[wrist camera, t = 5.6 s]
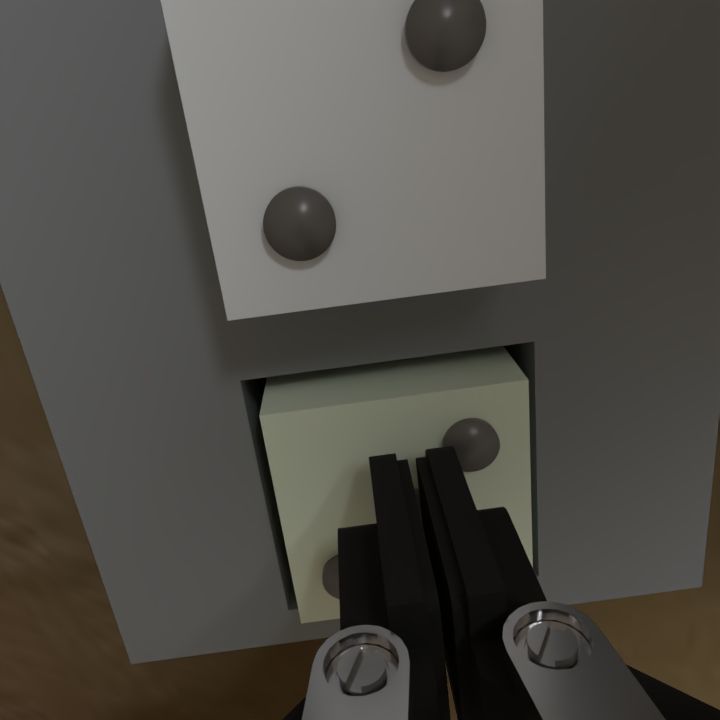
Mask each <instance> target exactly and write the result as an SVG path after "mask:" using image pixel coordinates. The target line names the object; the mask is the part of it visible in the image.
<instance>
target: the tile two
mask: <svg viewBox="0 0 720 720" xmlns="http://www.w3.org/2000/svg"><path fill="white" fill-rule="evenodd" d="M161 5H162V10H163V15H164V19H165V24H166V29H167V34H168V38H169V43H170V48H171V53H172V58H173V62H174V67H175V72H176V77H177V81H178V86H179V91H180V96H181V100H182V105H183V110H184V115H185V120H186V124H187V129H188V134H189V139H190V143H191V148H192V153H193V158H194V163H195V167H196V172H197V177H198V182H199V186H200V191H201V196H202V201H203V205H204V210H205V215H206V220H207V225H208V229H209V234H210V239H211V244H212V248H213V253H214V258H215V263H216V267H217V272H218V277H219V282H220V287H221V291H222V296H223V301H224V306H225V310H226V315H227V320H228V321H230V320H237V319H245V318H252V317H260V316H267V315H275V314H282V313H290V312H298V311H305V310H313V309H320V308H328V307H335V306H343V305H350V304H358V303H366V302H373V301H381V300H388V299H396V298H403V297H411V296H418V295H426V294H434V293H441V292H449V291H456V290H464V289H471V288H479V287H486V286H494V285H502V284H509V283H517V282H524V281H532V280H539V279H546V240H545V149H544V57H543V0H161Z"/></svg>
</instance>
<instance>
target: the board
mask: <svg viewBox="0 0 720 720" xmlns="http://www.w3.org/2000/svg"><path fill="white" fill-rule="evenodd" d="M543 57H544V149H545V240H546V279H539V280H532V281H524V282H517V283H509V284H502V285H494V286H486V287H479V288H471V289H464V290H456V291H449V292H441V293H434V294H426V295H418V296H411V297H403V298H396V299H388V300H381V301H373V302H366V303H358V304H350V305H343V306H335V307H328V308H320V309H313V310H305V311H298V312H290V313H282V314H275V315H267V316H260V317H252V318H245V319H237V320H230V321H228V320H227V315H226V310H225V306H224V301H223V296H222V291H221V287H220V282H219V277H218V272H217V267H216V263H215V258H214V253H213V248H212V244H211V239H210V234H209V229H208V225H207V220H206V215H205V210H204V205H203V201H202V196H201V191H200V186H199V182H198V177H197V172H196V167H195V163H194V158H193V153H192V148H191V143H190V139H189V134H188V129H187V124H186V120H185V115H184V110H183V105H182V100H181V96H180V91H179V86H178V81H177V77H176V72H175V67H174V62H173V58H172V53H171V48H170V43H169V38H168V34H167V29H166V24H165V19H164V15H163V10H162V5H161V0H0V284H1V287H2V290H3V292H4V295H5V298H6V301H7V304H8V307H9V310H10V313H11V316H12V319H13V322H14V324H15V327H16V330H17V333H18V336H19V339H20V342H21V345H22V348H23V351H24V354H25V357H26V359H27V362H28V365H29V368H30V371H31V374H32V377H33V380H34V383H35V386H36V389H37V391H38V394H39V397H40V400H41V403H42V406H43V409H44V412H45V415H46V418H47V421H48V424H49V426H50V429H51V432H52V435H53V438H54V441H55V444H56V447H57V450H58V453H59V456H60V458H61V461H62V464H63V467H64V470H65V473H66V476H67V479H68V482H69V485H70V488H71V491H72V493H73V496H74V499H75V502H76V505H77V508H78V511H79V514H80V517H81V520H82V523H83V525H84V528H85V531H86V534H87V537H88V540H89V543H90V546H91V549H92V552H93V555H94V557H95V560H96V563H97V566H98V569H99V572H100V575H101V578H102V581H103V584H104V587H105V590H106V592H107V595H108V598H109V601H110V604H111V607H112V610H113V613H114V616H115V619H116V622H117V624H118V627H119V630H120V633H121V636H122V639H123V642H124V645H125V648H126V651H127V654H128V657H129V659H130V662H131V664H137V663H144V662H152V661H159V660H166V659H174V658H181V657H188V656H196V655H203V654H211V653H218V652H225V651H233V650H240V649H248V648H255V647H262V646H270V645H277V644H284V643H292V642H299V641H307V640H314V639H321V638H329V637H331V636H333V635H334V634H335V633H337V632H339V631H340V618H339V619H331V620H324V621H317V622H309V623H302V624H301V620H300V615H299V610H298V605H297V600H296V595H295V590H294V585H293V580H292V575H291V571H290V566H289V561H288V556H287V551H286V546H285V541H284V536H283V531H282V526H281V521H280V516H279V511H278V506H277V501H276V496H275V491H274V486H273V481H272V476H271V471H270V466H269V462H268V457H267V452H266V447H265V442H264V437H263V432H262V427H261V422H260V417H259V415H260V410H261V405H262V400H263V390H262V385H261V379H260V378H264V377H272V376H279V375H287V374H294V373H302V372H309V371H317V370H324V369H332V368H340V367H347V366H355V365H362V364H370V363H377V362H385V361H392V360H400V359H407V358H415V357H422V356H430V355H437V354H445V353H452V352H460V351H467V350H475V349H482V348H490V347H498V346H504V348H505V349H506V350H507V352H508V353H509V354H510V356H511V357H512V358H513V360H514V361H515V362H516V364H517V365H518V366H519V368H520V369H521V370H522V372H523V373H524V375H525V376H526V377H527V379H528V380H529V423H530V467H531V511H532V554H533V570H534V572H535V575H536V577H537V579H538V581H539V584H540V586H541V588H542V590H543V593H544V595H545V597H546V600H547V601H548V602H558V603H562V604H565V605H572V604H580V603H587V602H594V601H602V600H609V599H616V598H624V597H631V596H639V595H646V594H653V593H661V592H668V591H675V590H683V589H690V588H698V587H702V580H703V571H704V561H705V551H706V542H707V532H708V522H709V513H710V503H711V493H712V483H713V474H714V464H715V454H716V445H717V435H718V425H719V416H720V0H543Z"/></svg>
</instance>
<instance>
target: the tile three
mask: <svg viewBox="0 0 720 720" xmlns="http://www.w3.org/2000/svg"><path fill="white" fill-rule="evenodd" d="M259 417H260V422H261V427H262V432H263V437H264V442H265V447H266V452H267V457H268V462H269V466H270V471H271V476H272V481H273V486H274V491H275V496H276V501H277V506H278V511H279V516H280V521H281V526H282V531H283V536H284V541H285V546H286V551H287V556H288V561H289V566H290V571H291V575H292V580H293V585H294V590H295V595H296V600H297V605H298V610H299V615H300V620H301V624H302V623H309V622H317V621H324V620H331V619H339V618H340V601H339V568H338V528H344V527H352V526H359V525H367V524H375V523H377V522H376V514H375V506H374V497H373V489H372V481H371V473H370V464H369V457H371V456H378V455H386V454H394V453H396V457H397V460H404V459H407V460H408V464H409V468H410V472H411V477H412V481H413V486H414V490H415V494H416V499H417V503H418V508H419V512H420V517H421V508H420V498H419V488H418V478H417V468H416V458H420V457H425V450H426V449H432V448H439V447H447V446H453V447H454V449H455V451H456V454H457V457H458V460H459V462H460V465H461V468H462V471H463V473H464V476H465V479H466V482H467V484H468V487H469V490H470V492H471V495H472V498H473V501H474V503H475V506H476V509H477V510H482V509H489V508H497V507H505V508H506V509H507V511H508V513H509V515H510V517H511V520H512V522H513V524H514V527H515V529H516V531H517V533H518V536H519V538H520V540H521V543H522V545H523V547H524V549H525V552H526V554H527V556H528V559H529V561H530V563H531V565H532V568H533V554H532V511H531V467H530V423H529V380H528V379H527V377H526V376H525V375H524V373H523V372H522V370H521V369H520V368H519V366H518V365H517V364H516V362H515V361H514V360H513V358H512V357H511V356H510V354H509V353H508V352H507V350H506V349H505V348H504V346H498V347H490V348H482V349H475V350H467V351H460V352H452V353H445V354H437V355H430V356H422V357H415V358H407V359H400V360H392V361H385V362H377V363H370V364H362V365H355V366H347V367H340V368H332V369H324V370H317V371H309V372H302V373H294V374H287V375H279V376H272V377H267V379H266V384H265V389H264V394H263V400H262V405H261V410H260V415H259ZM421 521H422V518H421Z"/></svg>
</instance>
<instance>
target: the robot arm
mask: <svg viewBox="0 0 720 720" xmlns="http://www.w3.org/2000/svg"><path fill="white" fill-rule="evenodd" d="M369 464H370V473H371V481H372V489H373V497H374V506H375V514H376V522H377V523H375V524H367V525H359V526H352V527H344V528H338V568H339V601H340V631H339V632H337V633H335V634H334V635H333V636H331V637H330V638H328V639H327V640H326V641H325V642H324V643H323V645H322V646H321V647H320V648H319V650H318V651H317V653H316V656H315V659H314V661H313V665H312V670H311V675H310V680H309V685H308V690H307V695H306V697H305V698H304V699H303V700H302V701H301V702H300V703H299V704H298V705H297V706H296V707H295V708H294V709H293V710H292V711H291V712H290V713H289V714H288V715H287V716H286V717H285V718H284V719H283V720H450V709H449V698H448V687H447V677H446V666H447V671H448V676H449V681H450V685H451V690H452V695H453V699H454V704H455V709H456V713H457V718H458V720H720V710H718V709H716V708H714V707H712V706H710V705H708V704H706V703H704V702H702V701H700V700H698V699H696V698H694V697H692V696H690V695H687V694H685V693H683V692H681V691H679V690H677V689H675V688H673V687H671V686H669V685H667V684H665V683H663V682H661V681H659V680H657V679H655V678H652V677H650V676H648V675H646V674H644V673H642V672H640V671H638V670H636V669H634V668H632V667H630V666H628V665H626V664H625V663H624V662H623V660H622V659H621V657H620V656H619V655H618V653H617V652H616V650H615V649H614V648H613V646H612V645H611V644H610V642H609V641H608V639H607V638H606V637H605V635H604V634H603V633H602V631H601V630H600V628H599V627H598V626H597V625H596V624H595V623H594V622H593V621H592V620H591V618H590V617H589V616H588V615H586V614H584V613H583V612H581V611H579V610H578V609H576V608H574V607H571V606H568V605H565V604H562V603H558V602H548V601H547V600H546V597H545V595H544V593H543V590H542V588H541V586H540V584H539V581H538V579H537V577H536V575H535V572H534V570H533V568H532V565H531V563H530V561H529V559H528V556H527V554H526V552H525V549H524V547H523V545H522V543H521V540H520V538H519V536H518V533H517V531H516V529H515V527H514V524H513V522H512V520H511V517H510V515H509V513H508V511H507V509H506V508H505V507H497V508H489V509H482V510H477V509H476V506H475V503H474V501H473V498H472V495H471V492H470V490H469V487H468V484H467V482H466V479H465V476H464V473H463V471H462V468H461V465H460V462H459V460H458V457H457V454H456V451H455V449H454V447H453V446H447V447H439V448H432V449H426V450H425V457H420V458H416V468H417V478H418V488H419V498H420V508H421V517H420V512H419V508H418V503H417V499H416V494H415V490H414V486H413V481H412V477H411V472H410V468H409V464H408V460H407V459H404V460H397V457H396V453H394V454H386V455H378V456H371V457H369ZM421 518H422V521H421ZM445 662H446V666H445Z"/></svg>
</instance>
